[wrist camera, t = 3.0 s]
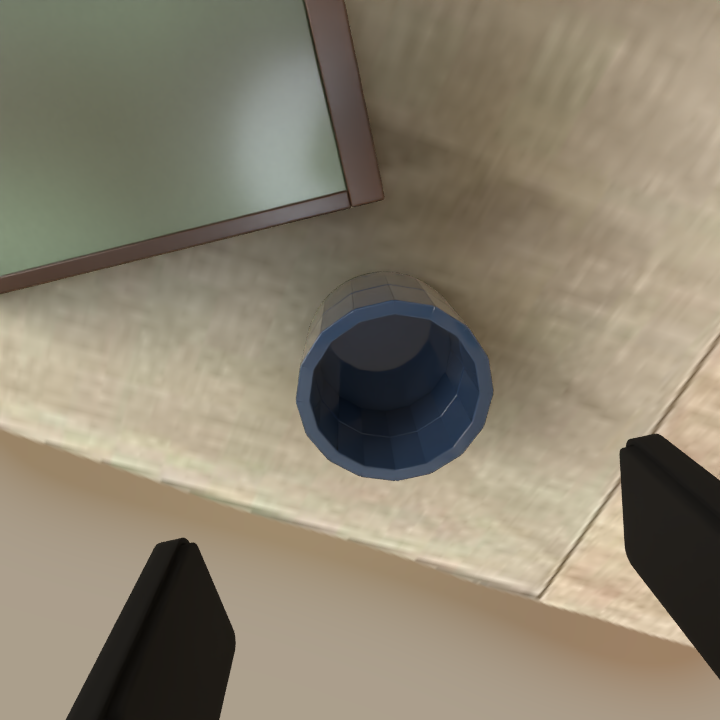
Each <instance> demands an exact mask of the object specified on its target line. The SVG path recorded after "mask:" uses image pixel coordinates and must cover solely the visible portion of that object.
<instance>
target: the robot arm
mask: <svg viewBox="0 0 720 720" xmlns="http://www.w3.org/2000/svg"><path fill="white" fill-rule="evenodd" d="M620 471H621V489H622V506H623V524H624V541H625V551H626V554H627V557H628V559H629V561H630V563H631V565H632V566H633V568H634V569H635V570H636V572H637V573H638V574H639V576H640V577H641V578H642V579H643V581H644V582H645V583H646V585H647V586H648V587H649V588H650V590H651V591H652V592H653V594H654V595H655V596H656V598H657V599H658V600H659V601H660V603H661V604H662V605H663V607H664V608H665V609H666V610H667V612H668V613H669V614H670V616H671V617H672V618H673V620H674V621H675V622H676V623H677V625H678V626H679V627H680V629H681V630H682V631H683V632H684V634H685V635H686V636H687V638H688V639H689V640H690V642H691V643H692V644H693V645H694V647H695V648H696V649H697V651H698V652H699V653H700V654H701V656H702V657H703V658H704V660H705V661H706V662H707V663H708V665H709V666H710V667H711V669H712V670H713V671H714V673H715V674H716V675H717V676H718V678H719V679H720V480H718V479H717V478H716V477H715V476H713V475H712V474H711V473H709V472H708V471H707V470H705V469H704V468H703V467H702V466H700V465H699V464H698V463H696V462H695V461H694V460H692V459H691V458H690V457H689V456H687V455H686V454H685V453H683V452H682V451H681V450H680V449H678V448H677V447H676V446H674V445H673V444H672V443H670V442H669V441H668V440H667V439H665V438H664V437H663V436H661V435H659V434H651V435H647V436H642V437H638V438H633V439H629V440H628V441H627V443H626V447H625V448H622V449H621V450H620ZM235 644H236V642H235V633H234V630H233V628H232V625H231V623H230V621H229V619H228V616H227V614H226V611H225V609H224V606H223V604H222V602H221V600H220V597H219V595H218V592H217V590H216V588H215V585H214V583H213V581H212V578H211V576H210V574H209V571H208V569H207V567H206V564H205V562H204V560H203V557H202V555H201V553H200V550H199V548H198V546H197V544H195V543H189V541H188V540H187V539H186V538H179V539H175V540H170V541H166V542H161V543H159V544H157V545H156V546H155V548H154V549H153V552H152V554H151V555H150V557H149V559H148V561H147V563H146V565H145V567H144V569H143V571H142V573H141V575H140V577H139V579H138V581H137V583H136V584H135V586H134V589H133V590H132V593H131V594H130V596H129V598H128V600H127V602H126V604H125V606H124V608H123V610H122V612H121V614H120V616H119V618H118V619H117V621H116V623H115V625H114V627H113V629H112V631H111V633H110V635H109V637H108V639H107V641H106V643H105V645H104V647H103V648H102V651H101V652H100V654H99V656H98V658H97V660H96V662H95V664H94V666H93V668H92V670H91V672H90V674H89V676H88V678H87V680H86V682H85V683H84V685H83V687H82V689H81V691H80V693H79V695H78V697H77V699H76V701H75V703H74V705H73V707H72V709H71V711H70V713H69V714H68V716H67V718H66V720H219V718H220V713H221V709H222V705H223V701H224V696H225V692H226V687H227V682H228V678H229V674H230V670H231V665H232V660H233V656H234V652H235Z"/></svg>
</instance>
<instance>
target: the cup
mask: <svg viewBox="0 0 720 720" xmlns="http://www.w3.org/2000/svg"><path fill="white" fill-rule="evenodd" d="M492 397H493V384H492V377H491V370H490V364H489V358H488V356H487V354H486V353H485V351H484V350H483V348H482V347H481V345H480V344H479V342H478V340H477V339H476V337H475V336H474V334H473V333H472V331H471V330H470V328H469V327H468V326H467V325H466V324H465V322H464V321H463V320H462V319H461V318H460V316H459V315H458V314H457V313H456V312H455V310H454V309H453V308H452V307H451V306H450V304H449V303H448V302H447V301H446V300H445V298H444V297H443V296H442V295H441V294H440V293H439V292H437V291H436V290H435V289H433V288H432V287H431V286H429V285H428V284H427V283H425V282H423V281H421V280H419V279H417V278H415V277H412V276H410V275H407V274H402V273H398V272H388V271H386V272H373V273H367V274H364V275H360V276H357V277H355V278H353V279H351V280H348V281H346V282H345V283H343V284H342V285H340V286H339V287H337V288H336V289H335V290H334V291H332V292H331V293H330V294H329V295H328V296H327V298H326V299H325V300H324V301H323V302H322V304H321V305H320V307H319V308H318V310H317V312H316V314H315V316H314V318H313V320H312V322H311V323H310V326H309V330H308V334H307V339H306V343H305V347H304V352H303V356H302V360H301V365H300V371H299V378H298V386H297V393H296V404H297V407H298V410H299V414H300V417H301V420H302V423H303V427H304V430H305V433H306V435H307V436H308V437H309V438H310V440H311V441H312V442H313V443H314V444H315V445H316V447H317V448H318V449H319V450H320V451H321V452H322V453H323V455H324V456H325V457H326V458H327V459H328V460H330V461H331V462H333V463H334V464H336V465H338V466H340V467H342V468H344V469H346V470H348V471H350V472H352V473H354V474H356V475H358V476H361V477H367V478H375V479H383V480H391V481H395V480H396V481H399V480H404V479H408V478H413V477H418V476H422V475H427V474H431V473H433V472H434V471H436V470H438V469H439V468H441V467H443V466H444V465H446V464H448V463H449V462H451V461H452V460H454V459H456V458H457V457H459V456H461V454H463V453H464V451H465V450H466V449H467V448H468V446H469V445H470V444H471V443H472V441H473V440H474V439H475V437H476V436H477V435H478V434H479V432H480V431H481V430H482V429H483V426H484V425H485V421H486V418H487V414H488V411H489V407H490V404H491V400H492Z"/></svg>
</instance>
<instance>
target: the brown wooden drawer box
mask: <svg viewBox="0 0 720 720" xmlns="http://www.w3.org/2000/svg"><path fill="white" fill-rule="evenodd" d="M384 198H385V196H384V192H383V187H382V182H381V177H380V172H379V167H378V162H377V157H376V152H375V147H374V143H373V138H372V133H371V128H370V123H369V118H368V113H367V108H366V103H365V99H364V94H363V89H362V84H361V79H360V74H359V69H358V64H357V59H356V54H355V50H354V45H353V40H352V35H351V30H350V25H349V20H348V15H347V10H346V5H345V1H344V0H0V294H3V293H7V292H11V291H15V290H19V289H24V288H28V287H32V286H36V285H40V284H44V283H48V282H52V281H56V280H60V279H64V278H68V277H72V276H76V275H80V274H84V273H89V272H93V271H97V270H101V269H105V268H109V267H113V266H117V265H121V264H125V263H129V262H133V261H137V260H141V259H145V258H149V257H153V256H158V255H162V254H166V253H170V252H174V251H178V250H182V249H186V248H190V247H194V246H198V245H202V244H206V243H210V242H214V241H218V240H223V239H227V238H231V237H235V236H239V235H243V234H247V233H251V232H255V231H259V230H263V229H267V228H271V227H275V226H279V225H283V224H288V223H292V222H296V221H300V220H304V219H308V218H312V217H316V216H320V215H324V214H328V213H332V212H336V211H340V210H344V209H348V208H351V206H352V207H357V206H361V205H365V204H369V203H373V202H377V201H381V200H384Z"/></svg>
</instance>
